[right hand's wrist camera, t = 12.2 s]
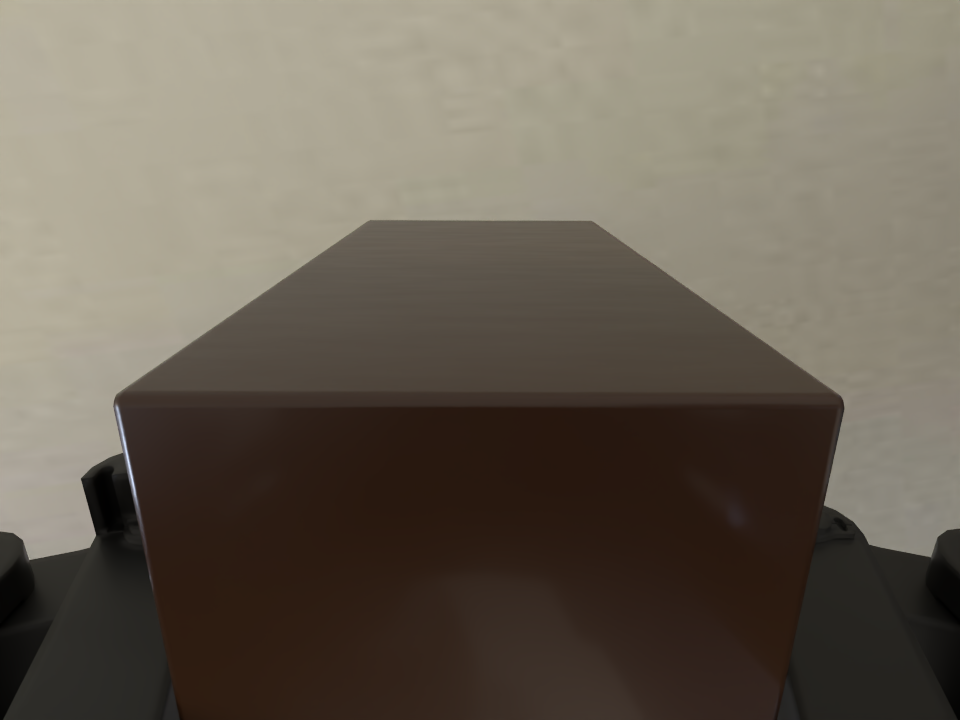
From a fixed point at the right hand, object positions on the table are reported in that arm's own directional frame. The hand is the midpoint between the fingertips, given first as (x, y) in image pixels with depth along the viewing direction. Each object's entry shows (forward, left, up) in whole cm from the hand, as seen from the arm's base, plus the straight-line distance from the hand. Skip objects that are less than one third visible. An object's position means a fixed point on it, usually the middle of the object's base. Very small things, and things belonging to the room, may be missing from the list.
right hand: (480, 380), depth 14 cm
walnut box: (0, +13, 0) cm, 13 cm away
